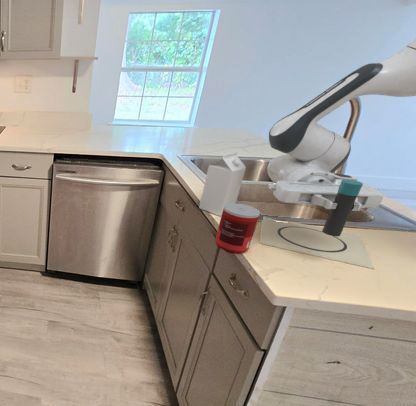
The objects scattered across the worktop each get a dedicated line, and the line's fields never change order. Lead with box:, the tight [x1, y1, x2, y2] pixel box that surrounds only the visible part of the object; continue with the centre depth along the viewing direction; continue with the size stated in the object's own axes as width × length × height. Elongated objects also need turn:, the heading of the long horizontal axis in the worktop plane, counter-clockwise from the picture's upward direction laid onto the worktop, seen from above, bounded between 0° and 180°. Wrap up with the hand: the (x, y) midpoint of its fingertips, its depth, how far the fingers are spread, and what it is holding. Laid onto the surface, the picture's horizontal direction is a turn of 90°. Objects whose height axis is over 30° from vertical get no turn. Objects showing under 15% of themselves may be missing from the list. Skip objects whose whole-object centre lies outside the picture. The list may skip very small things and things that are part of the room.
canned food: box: [214, 202, 261, 254], centre depth 95 cm, size 8×8×11 cm
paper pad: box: [259, 217, 376, 270], centre depth 99 cm, size 22×20×1 cm
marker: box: [322, 179, 364, 236], centre depth 84 cm, size 3×3×13 cm
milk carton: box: [198, 151, 247, 217], centre depth 114 cm, size 7×7×19 cm
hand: (345, 207), depth 83 cm, fingers closed on marker, 3 cm apart
